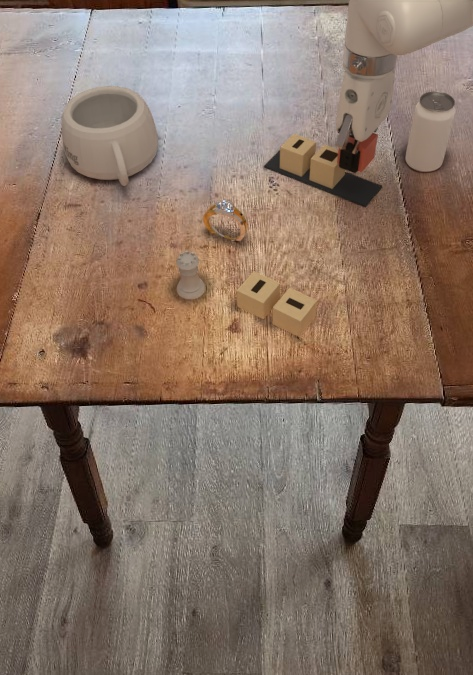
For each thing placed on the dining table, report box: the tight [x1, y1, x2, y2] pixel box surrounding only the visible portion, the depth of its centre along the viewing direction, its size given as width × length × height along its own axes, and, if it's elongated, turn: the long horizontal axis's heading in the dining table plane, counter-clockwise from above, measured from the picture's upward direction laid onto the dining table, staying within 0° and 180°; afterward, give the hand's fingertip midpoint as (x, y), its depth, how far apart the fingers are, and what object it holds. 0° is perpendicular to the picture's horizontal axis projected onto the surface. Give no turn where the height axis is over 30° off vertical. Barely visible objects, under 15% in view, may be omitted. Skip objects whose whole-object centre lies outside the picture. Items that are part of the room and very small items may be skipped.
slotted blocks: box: [236, 270, 318, 338], centre depth 96 cm, size 20×6×5 cm, turn 56°
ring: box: [202, 198, 248, 244], centre depth 105 cm, size 7×3×8 cm, turn 61°
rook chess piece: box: [175, 249, 206, 300], centre depth 98 cm, size 4×4×8 cm
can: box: [404, 90, 456, 173], centre depth 114 cm, size 6×6×12 cm
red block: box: [337, 132, 379, 174], centre depth 109 cm, size 4×4×5 cm
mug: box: [61, 85, 159, 187], centre depth 118 cm, size 21×17×10 cm
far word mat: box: [263, 133, 383, 208], centre depth 115 cm, size 20×6×5 cm, turn 56°
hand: (356, 159), depth 110 cm, fingers closed on red block, 4 cm apart
